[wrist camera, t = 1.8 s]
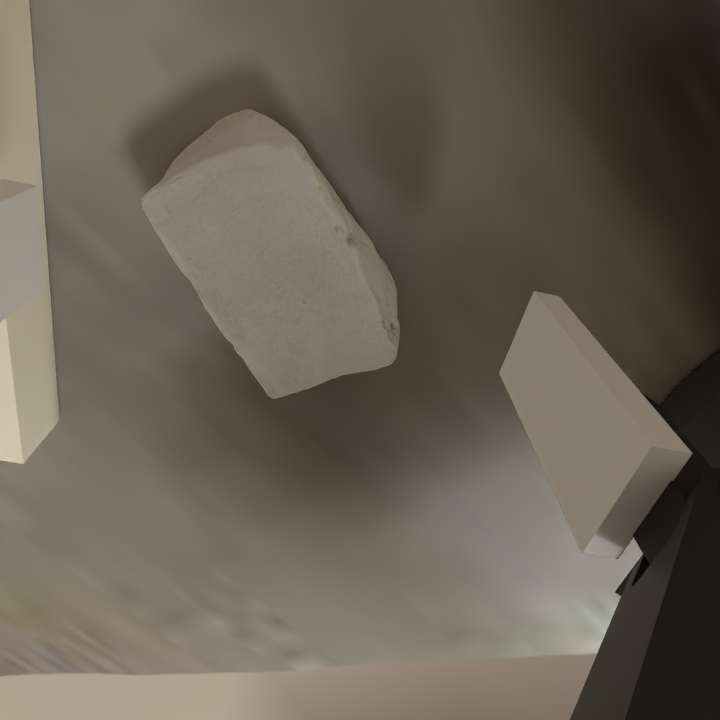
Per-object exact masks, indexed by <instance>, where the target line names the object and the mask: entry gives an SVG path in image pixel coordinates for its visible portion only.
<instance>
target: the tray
mask: <svg viewBox="0 0 720 720" xmlns="http://www.w3.org/2000/svg"><path fill="white" fill-rule="evenodd" d="M3 179H6V180H11V181H16V182H20V183H25V184H30V185H35V186H37V194H38V206H39V217H40V229H41V241H42V253H43V265H44V276H45V288H44V289H43V290H42V291H40V292H39V293H38V294H37V295H35V296H34V297H33V298H32V299H30V300H29V301H28V302H26V303H25V304H24V305H23V306H21V307H20V308H19V309H17V310H16V311H15V312H14V313H12V314H11V315H10V316H8V317H7V318H6V319H5V320H3V321H2V322H1V323H0V460H2V461H8V462H14V463H21V464H24V463H25V461H26V460H27V459H28V458H29V456H30V455H31V454H32V453H33V452H34V450H35V449H36V448H37V447H38V446H39V444H40V443H41V442H42V441H43V440H44V438H45V437H46V436H47V435H48V434H49V432H50V431H51V430H52V429H53V428H54V426H55V425H56V424H57V423H58V421H59V406H58V392H57V378H56V364H55V350H54V337H53V323H52V309H51V295H50V281H49V267H48V253H47V240H46V226H45V212H44V198H43V184H42V170H41V157H40V143H39V129H38V115H37V101H36V87H35V73H34V60H33V46H32V32H31V18H30V4H29V0H0V180H3Z"/></svg>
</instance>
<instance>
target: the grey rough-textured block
mask: <svg viewBox="0 0 720 720" xmlns="http://www.w3.org/2000/svg"><path fill="white" fill-rule="evenodd" d="M141 204H142V208H143V210H144V212H145V214H146V215H147V217H148V219H149V221H150V223H151V225H152V226H153V228H154V230H155V232H156V233H157V234H158V236H159V238H160V239H161V241H162V242H163V244H164V246H165V247H166V248H167V250H168V252H169V254H170V255H171V257H172V258H173V260H174V261H175V263H176V265H177V266H178V267H179V269H180V270H181V271H182V273H183V274H184V275H185V276H186V277H187V278H188V279H189V280H190V281H191V283H192V285H193V286H194V288H195V290H196V291H197V293H198V294H199V297H200V299H201V301H202V303H203V306H204V307H205V309H206V310H207V312H208V313H209V314H210V316H211V318H212V319H213V321H214V323H215V324H216V325H217V327H218V328H219V330H220V331H221V333H222V334H223V335H224V337H225V338H226V339H227V340H228V341H230V342H231V343H232V344H233V346H234V349H235V350H236V352H237V353H238V354H239V355H240V356H241V357H242V358H243V360H244V361H245V363H246V365H247V366H248V368H249V369H250V371H251V372H252V374H253V375H254V376H255V378H256V379H257V380H258V382H259V383H260V384H261V386H262V387H263V389H264V390H265V392H266V394H267V395H268V396H269V397H270V398H272V399H277V398H279V397H284V396H286V395H289V394H293V393H297V392H300V391H302V390H307V389H310V388H313V387H315V386H317V385H319V384H322V383H324V382H326V381H329V380H330V379H335V378H337V377H339V376H341V375H346V374H355V373H358V372H365V371H372V370H376V369H378V368H382V367H386V366H388V365H391V364H392V363H393V362H394V361H395V360H396V357H397V351H398V347H399V333H400V324H399V321H398V319H397V314H398V306H397V289H396V285H395V282H394V280H393V278H392V276H391V274H390V272H389V270H388V268H387V266H386V264H385V263H384V262H383V260H382V259H381V258H380V256H379V255H378V253H377V251H376V249H375V247H374V245H373V243H372V241H371V239H370V238H369V236H368V235H367V234H366V233H365V232H364V230H363V229H362V228H361V227H360V226H359V224H358V223H357V222H356V221H355V219H354V218H353V217H352V215H351V214H350V213H349V212H348V211H347V209H346V207H345V206H344V204H343V203H342V201H341V199H340V198H339V197H338V195H337V194H336V192H335V190H334V189H333V188H332V186H331V184H330V183H329V182H328V181H327V179H326V178H325V176H324V175H323V174H322V172H321V171H320V170H319V169H318V167H317V166H316V165H315V164H314V162H313V161H312V159H311V158H310V156H309V155H308V153H307V151H306V149H305V148H304V146H303V145H302V144H301V142H300V141H299V140H298V139H297V138H296V137H295V136H294V135H292V134H291V133H290V132H289V131H288V130H287V129H285V128H284V127H282V126H281V125H279V124H278V123H277V122H276V121H274V120H272V119H270V118H269V117H267V116H266V115H263V114H261V113H258V112H257V111H254V110H250V109H244V110H242V111H240V112H236V113H233V114H230V115H228V116H226V117H223V118H221V119H220V120H218V121H217V122H216V123H215V124H214V125H213V126H212V127H211V128H209V129H208V130H207V131H205V132H204V133H203V134H202V135H201V136H200V137H199V138H197V139H196V140H195V141H194V142H192V143H191V144H190V145H188V146H187V147H186V149H184V150H183V151H182V152H181V153H180V154H179V155H178V156H177V157H176V159H175V160H174V161H173V163H172V164H171V165H170V167H169V168H168V170H167V171H166V173H165V175H164V176H163V179H162V180H161V181H160V182H159V183H158V184H156V185H155V186H154V187H152V188H151V190H150V191H149V192H148V193H146V194H145V195H144V196H143V197H142V198H141Z"/></svg>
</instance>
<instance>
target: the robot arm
mask: <svg viewBox="0 0 720 720" xmlns="http://www.w3.org/2000/svg"><path fill="white" fill-rule="evenodd" d="M44 288H45V276H44V265H43V253H42V241H41V229H40V217H39V206H38V194H37V186H35V185H30V184H25V183H20V182H16V181H11V180H6V179H3V180H0V323H1V322H2V321H3V320H5V319H6V318H7V317H8V316H10V315H11V314H12V313H14V312H15V311H16V310H17V309H19V308H20V307H21V306H23V305H24V304H25V303H26V302H28V301H29V300H30V299H32V298H33V297H34V296H35V295H37V294H38V293H39V292H40V291H42V290H43V289H44ZM499 374H500V376H501V378H502V380H503V383H504V385H505V387H506V389H507V391H508V394H509V396H510V398H511V400H512V402H513V404H514V407H515V409H516V411H517V413H518V415H519V417H520V420H521V422H522V424H523V426H524V428H525V431H526V433H527V435H528V437H529V439H530V441H531V444H532V446H533V448H534V450H535V452H536V454H537V457H538V459H539V461H540V463H541V465H542V467H543V470H544V472H545V474H546V476H547V478H548V481H549V483H550V485H551V487H552V489H553V491H554V494H555V496H556V498H557V500H558V502H559V504H560V507H561V509H562V511H563V513H564V515H565V518H566V520H567V522H568V524H569V526H570V528H571V531H572V533H573V535H574V537H575V539H576V541H577V544H578V546H579V548H580V550H581V552H582V554H587V555H594V556H601V557H608V558H615V559H618V558H619V557H620V556H621V554H622V553H623V551H624V550H625V548H626V547H627V546H628V544H629V543H630V541H631V540H632V539H633V537H634V538H635V540H636V542H637V544H638V545H639V547H640V549H641V551H642V552H643V555H642V556H641V558H640V559H639V560H638V562H637V563H636V564H635V566H634V567H633V568H632V570H631V571H630V572H629V574H628V575H627V577H626V578H625V579H624V581H623V582H622V583H621V585H620V586H619V587H618V589H617V590H616V591H615V592H616V593H617V594H619V595H620V596H621V595H622V596H621V598H620V601H619V603H618V605H617V608H616V610H615V613H614V615H613V618H612V620H611V622H610V625H609V627H608V630H607V632H606V634H605V637H604V639H603V642H602V644H601V646H600V649H599V651H598V654H597V656H596V659H595V661H594V663H593V666H592V668H591V671H590V673H589V675H588V678H587V680H586V683H585V685H584V687H583V690H582V692H581V695H580V697H579V700H578V702H577V704H576V707H575V709H574V711H573V714H572V716H571V719H570V720H720V352H719V353H717V354H716V355H715V356H713V357H712V358H711V359H709V360H708V361H707V362H705V363H704V364H703V365H702V366H700V367H699V368H698V369H697V370H696V371H694V372H693V373H692V374H691V375H690V376H689V377H688V378H687V379H686V380H685V381H684V382H683V383H682V384H681V385H680V386H679V387H678V388H677V389H676V390H675V391H674V392H673V393H672V394H671V395H670V397H669V398H668V399H667V400H666V401H665V403H664V404H663V405H662V407H661V408H660V407H659V405H658V404H657V403H655V402H654V401H653V400H651V399H650V398H649V397H647V396H646V395H645V394H643V393H642V392H641V391H639V390H638V388H637V387H636V386H635V385H634V384H633V382H632V381H631V380H630V379H629V378H628V377H627V375H626V374H625V373H624V372H623V371H622V370H621V368H620V367H619V366H618V365H617V364H616V362H615V361H614V360H613V359H612V358H611V357H610V355H609V354H608V353H607V352H606V351H605V349H604V348H603V347H602V346H601V345H600V344H599V342H598V341H597V340H596V339H595V338H594V336H593V335H592V334H591V333H590V332H589V331H588V329H587V328H586V327H585V326H584V325H583V324H582V322H581V321H580V320H579V319H578V318H577V316H576V315H575V314H574V313H573V312H572V311H571V309H570V308H569V307H568V306H567V305H566V303H565V302H564V301H563V300H562V299H561V298H560V296H556V295H551V294H546V293H542V292H537V291H534V292H533V294H532V296H531V299H530V301H529V303H528V306H527V308H526V311H525V313H524V315H523V318H522V320H521V322H520V325H519V327H518V330H517V332H516V334H515V337H514V339H513V341H512V344H511V346H510V348H509V351H508V353H507V356H506V358H505V360H504V363H503V365H502V367H501V370H500V372H499Z"/></svg>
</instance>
